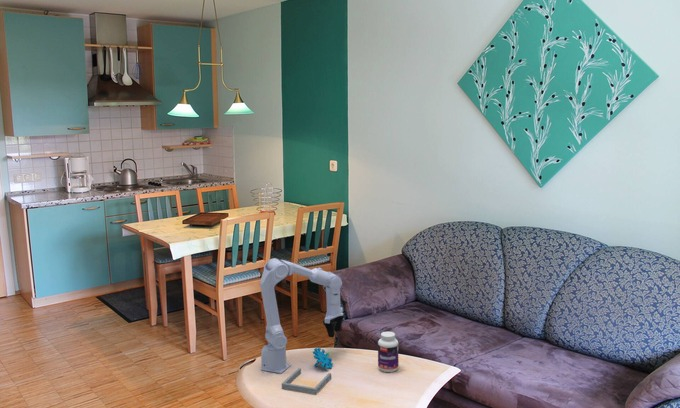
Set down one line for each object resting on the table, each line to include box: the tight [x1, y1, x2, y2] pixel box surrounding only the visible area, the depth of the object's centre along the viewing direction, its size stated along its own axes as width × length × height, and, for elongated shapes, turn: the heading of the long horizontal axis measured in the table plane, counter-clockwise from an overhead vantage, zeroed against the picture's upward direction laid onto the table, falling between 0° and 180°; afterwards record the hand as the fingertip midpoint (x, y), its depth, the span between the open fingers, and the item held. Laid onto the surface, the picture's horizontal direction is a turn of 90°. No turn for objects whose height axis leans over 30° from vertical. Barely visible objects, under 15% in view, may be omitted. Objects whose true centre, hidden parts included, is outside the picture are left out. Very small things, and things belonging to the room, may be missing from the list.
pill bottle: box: [377, 331, 400, 373], centre depth 234 cm, size 8×8×14 cm
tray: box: [281, 367, 332, 396], centre depth 224 cm, size 14×14×2 cm
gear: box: [312, 347, 334, 370], centre depth 238 cm, size 11×6×10 cm
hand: (334, 333), depth 247 cm, fingers open, 6 cm apart
